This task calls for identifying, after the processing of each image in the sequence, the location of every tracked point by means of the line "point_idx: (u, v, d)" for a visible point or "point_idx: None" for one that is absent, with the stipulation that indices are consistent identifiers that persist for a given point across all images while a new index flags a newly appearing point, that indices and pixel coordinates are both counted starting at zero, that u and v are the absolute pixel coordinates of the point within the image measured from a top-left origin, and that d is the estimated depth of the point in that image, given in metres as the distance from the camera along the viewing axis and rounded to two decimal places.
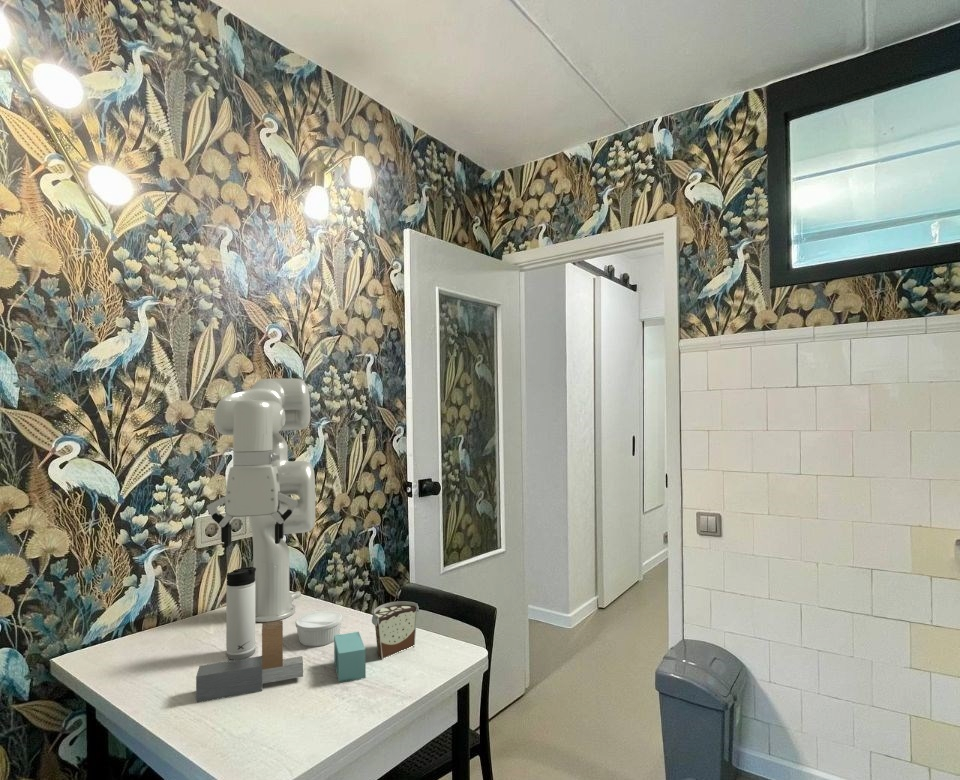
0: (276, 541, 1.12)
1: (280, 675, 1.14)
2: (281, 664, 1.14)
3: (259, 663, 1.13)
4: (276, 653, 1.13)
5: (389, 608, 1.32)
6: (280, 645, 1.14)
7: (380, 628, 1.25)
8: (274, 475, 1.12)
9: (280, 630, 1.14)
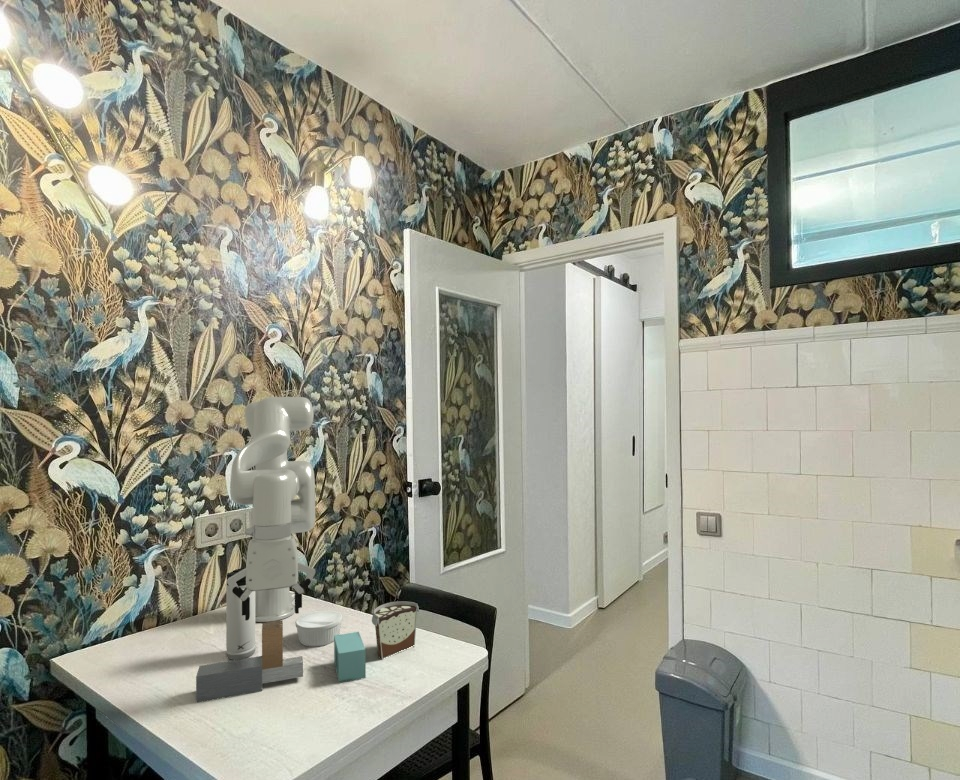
0: None
1: (280, 675, 1.14)
2: (281, 664, 1.14)
3: (259, 663, 1.13)
4: (276, 653, 1.13)
5: (389, 608, 1.32)
6: (280, 645, 1.14)
7: (380, 628, 1.25)
8: None
9: (280, 630, 1.14)
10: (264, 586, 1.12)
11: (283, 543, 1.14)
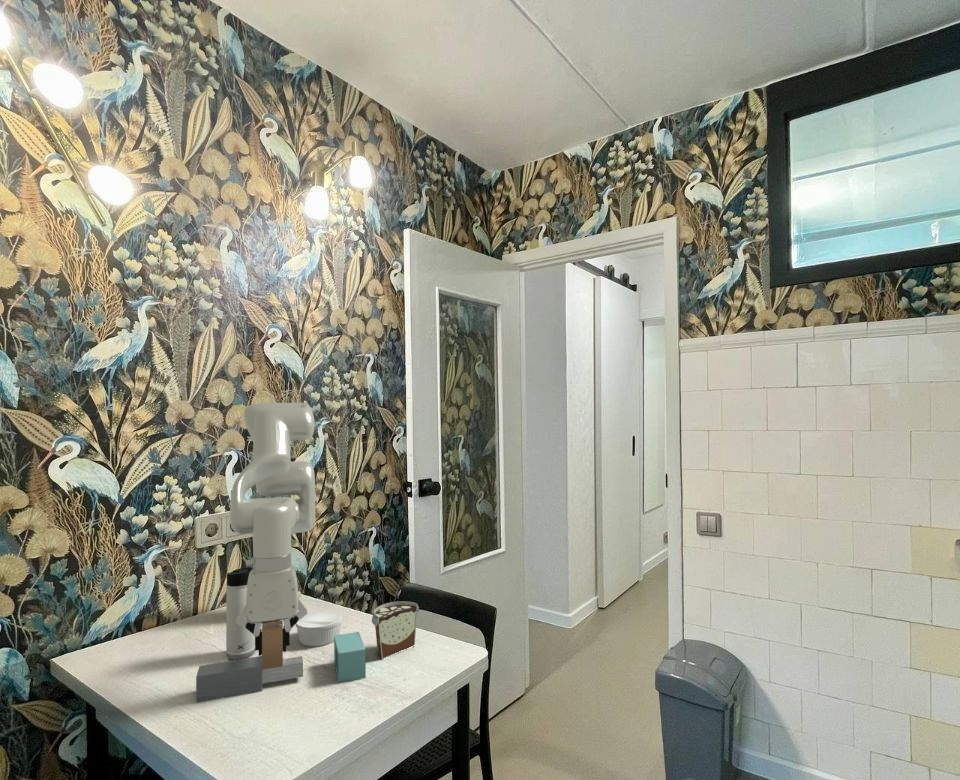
0: None
1: (280, 675, 1.14)
2: (281, 664, 1.14)
3: (259, 663, 1.13)
4: (276, 653, 1.13)
5: (389, 608, 1.32)
6: (280, 645, 1.14)
7: (380, 628, 1.25)
8: None
9: (280, 630, 1.14)
10: (264, 618, 1.12)
11: (283, 575, 1.14)
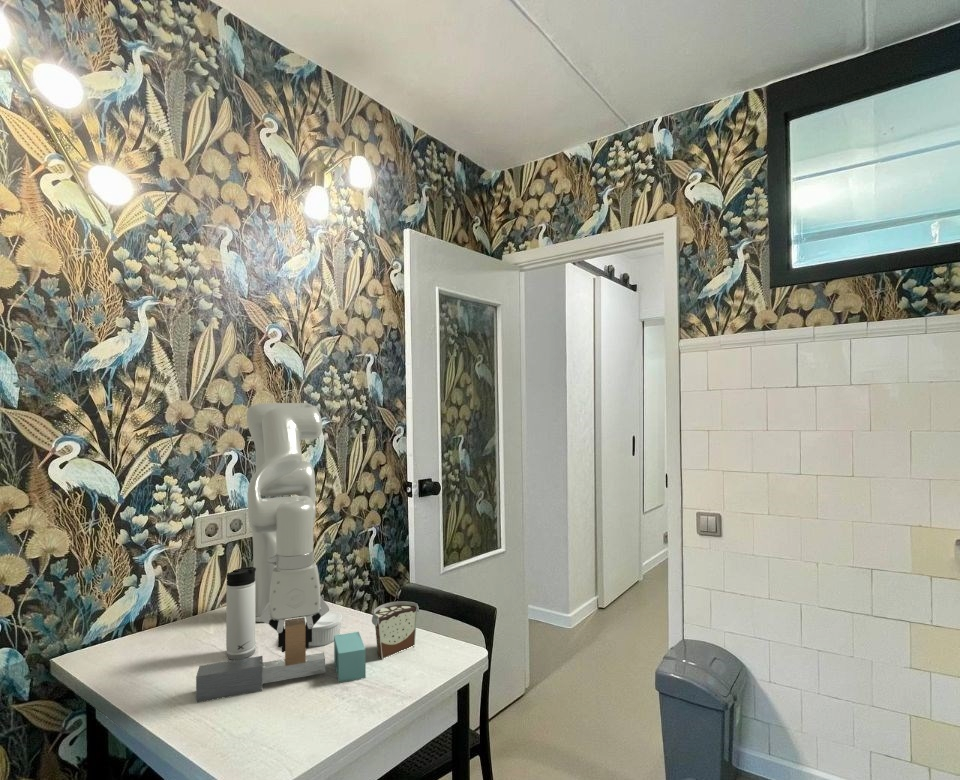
0: None
1: (302, 672, 1.15)
2: (304, 660, 1.15)
3: (259, 663, 1.13)
4: (299, 649, 1.15)
5: (389, 608, 1.32)
6: (303, 642, 1.15)
7: (380, 628, 1.25)
8: None
9: (302, 627, 1.15)
10: (287, 615, 1.14)
11: (306, 572, 1.15)
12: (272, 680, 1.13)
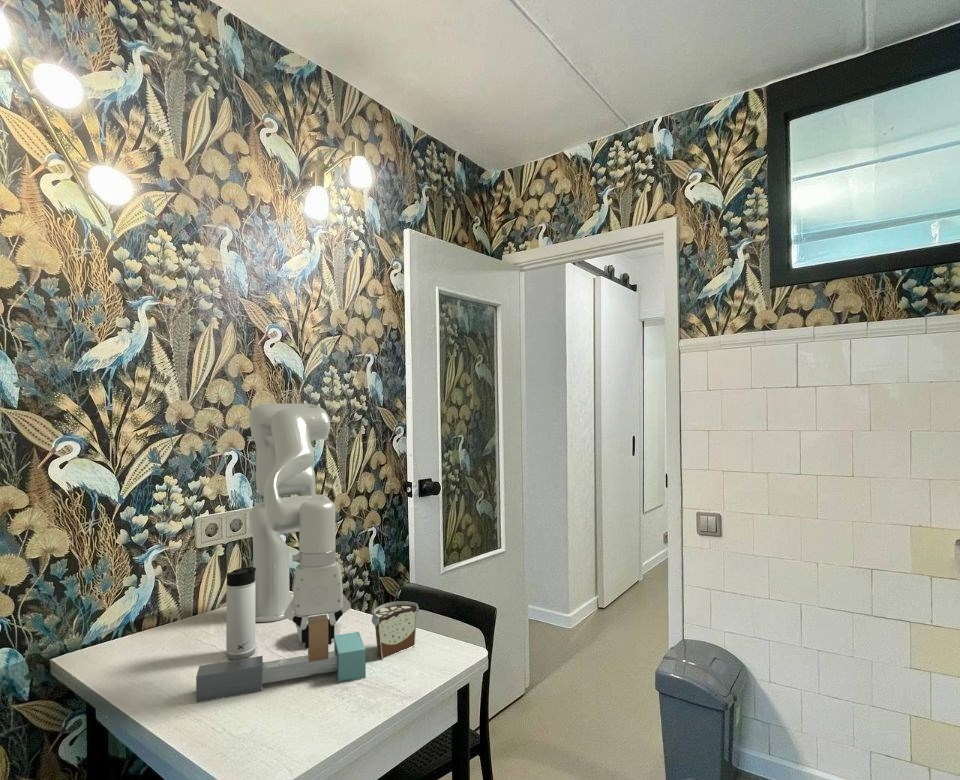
0: None
1: (325, 668, 1.17)
2: (327, 656, 1.17)
3: (259, 663, 1.13)
4: (322, 645, 1.17)
5: (389, 608, 1.32)
6: (326, 638, 1.17)
7: (380, 628, 1.25)
8: None
9: (325, 624, 1.17)
10: (311, 612, 1.15)
11: (329, 570, 1.17)
12: (296, 676, 1.15)
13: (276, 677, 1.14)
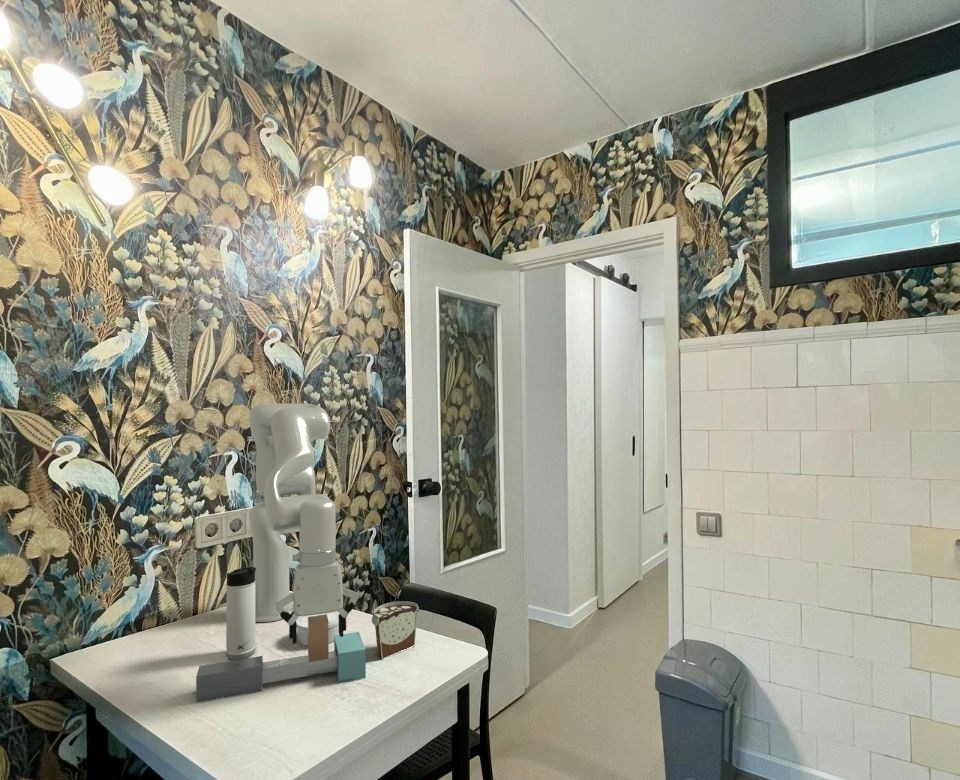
0: None
1: (325, 668, 1.17)
2: (327, 656, 1.17)
3: (259, 663, 1.13)
4: (322, 645, 1.17)
5: (389, 608, 1.32)
6: (326, 638, 1.17)
7: (380, 628, 1.25)
8: None
9: (325, 624, 1.17)
10: (311, 611, 1.15)
11: (329, 569, 1.17)
12: (296, 676, 1.15)
13: (277, 677, 1.14)
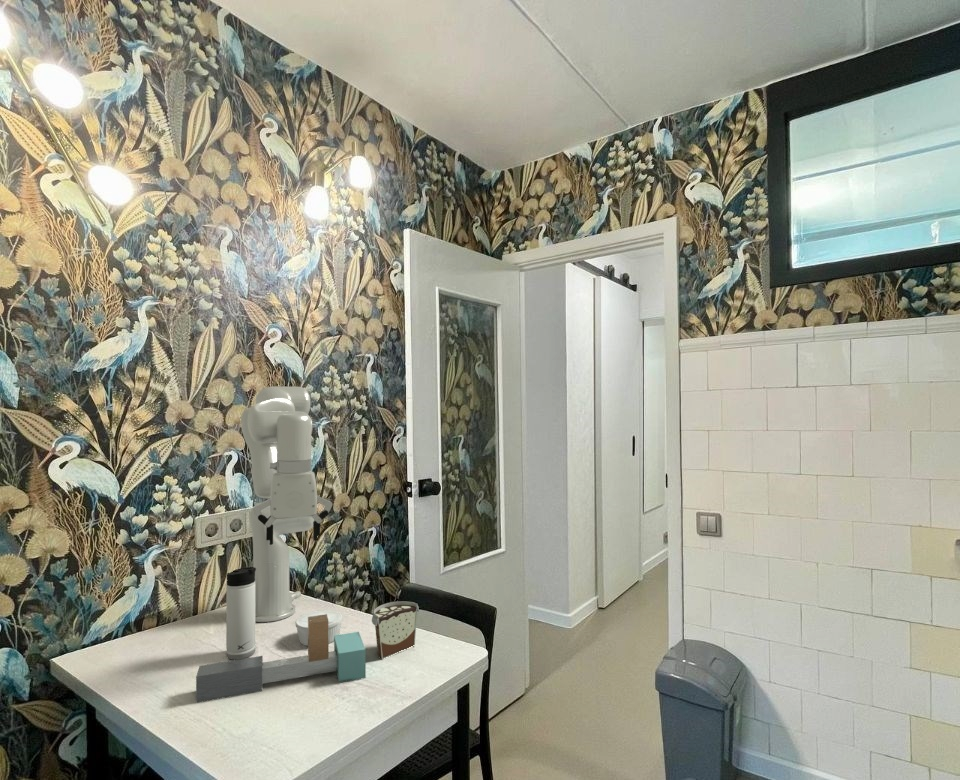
0: None
1: (325, 668, 1.17)
2: (327, 656, 1.17)
3: (259, 663, 1.13)
4: (322, 645, 1.17)
5: (389, 608, 1.32)
6: (326, 638, 1.17)
7: (380, 628, 1.25)
8: None
9: (325, 624, 1.17)
10: (286, 515, 1.24)
11: (304, 477, 1.25)
12: (296, 676, 1.15)
13: (277, 677, 1.14)
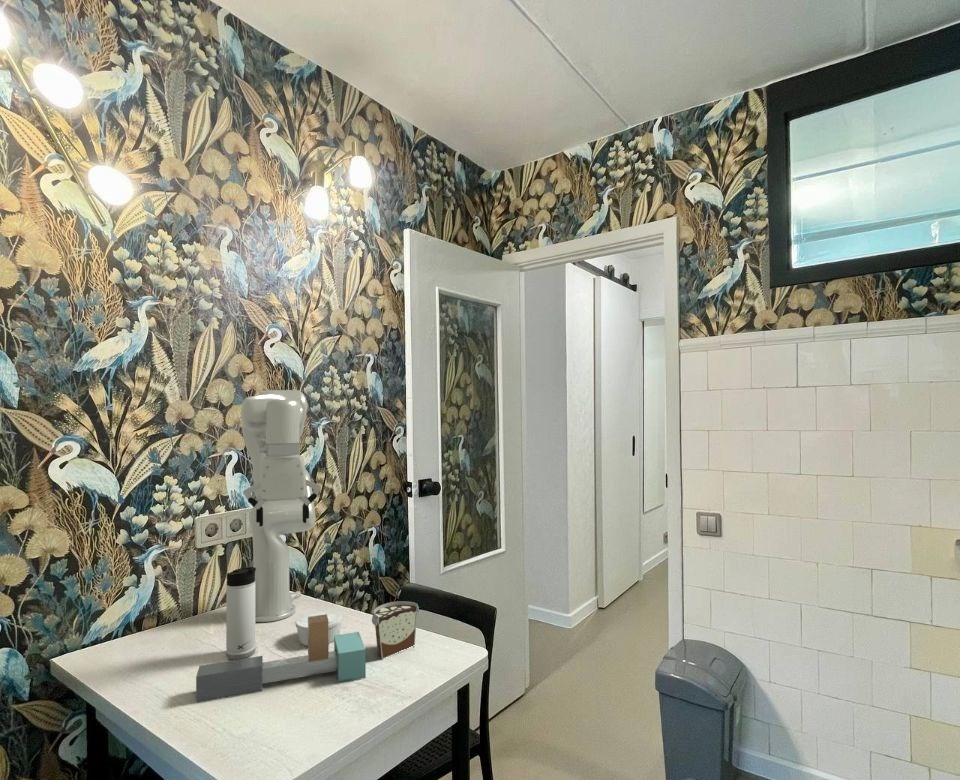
0: None
1: (325, 668, 1.17)
2: (327, 656, 1.17)
3: (259, 663, 1.13)
4: (322, 645, 1.17)
5: (389, 608, 1.32)
6: (326, 638, 1.17)
7: (380, 628, 1.25)
8: None
9: (325, 624, 1.17)
10: (275, 497, 1.27)
11: (293, 460, 1.29)
12: (296, 676, 1.15)
13: (277, 677, 1.14)
